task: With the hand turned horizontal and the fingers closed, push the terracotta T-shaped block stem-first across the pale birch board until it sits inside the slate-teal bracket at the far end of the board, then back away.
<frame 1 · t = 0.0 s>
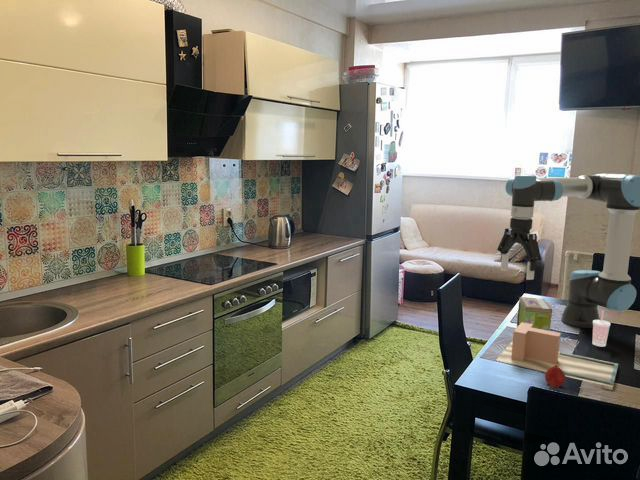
hand: (516, 275, 196), 28 cm above the table, tool pointing down, fingers open, 13 cm apart
red pomegranate: (553, 388, 167), on the table
tee: (521, 354, 191), point 1 cm above the table, touching board
board: (556, 364, 185), on the table
tea box: (531, 338, 211), on the table
beverage cup: (598, 344, 206), on the table
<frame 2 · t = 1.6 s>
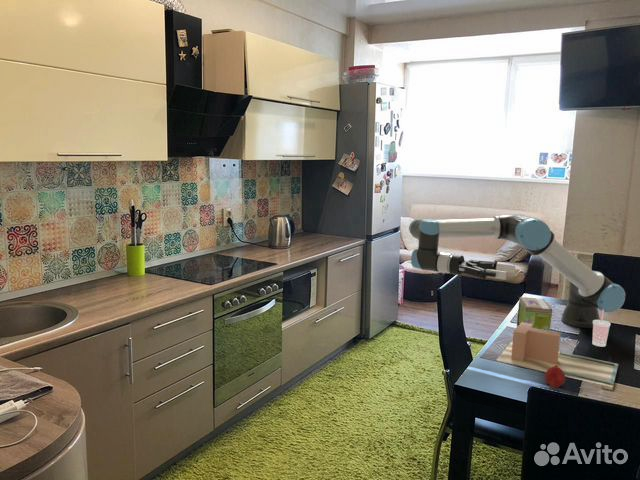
hand: (510, 272, 190), 30 cm above the table, tool horizontal, fingers open, 12 cm apart
nothing on the table moved.
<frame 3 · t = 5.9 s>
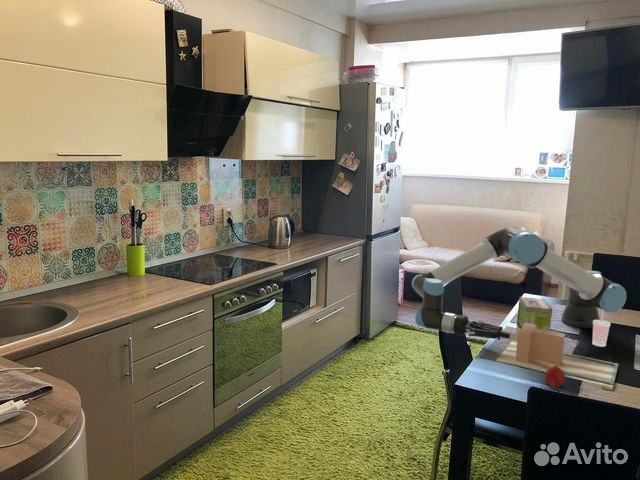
hand: (519, 337, 190), 7 cm above the table, tool horizontal, fingers closed
tee: (525, 355, 191), point 1 cm above the table, touching board
everything else where it was.
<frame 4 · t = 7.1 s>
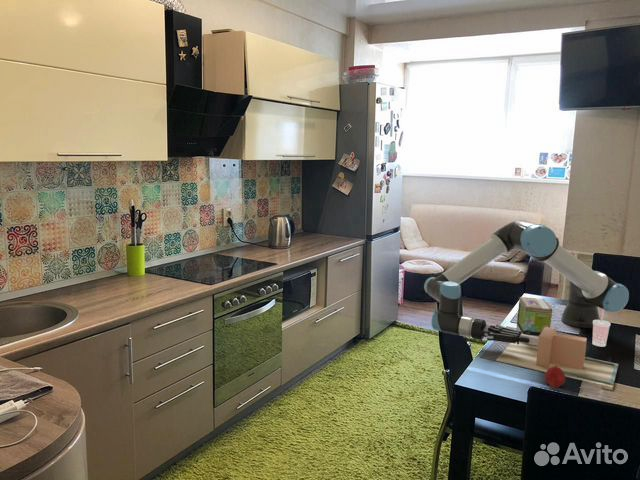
hand: (539, 341, 186), 7 cm above the table, tool horizontal, fingers closed
tee: (545, 359, 187), point 1 cm above the table, touching board, gripper
everything else where it was.
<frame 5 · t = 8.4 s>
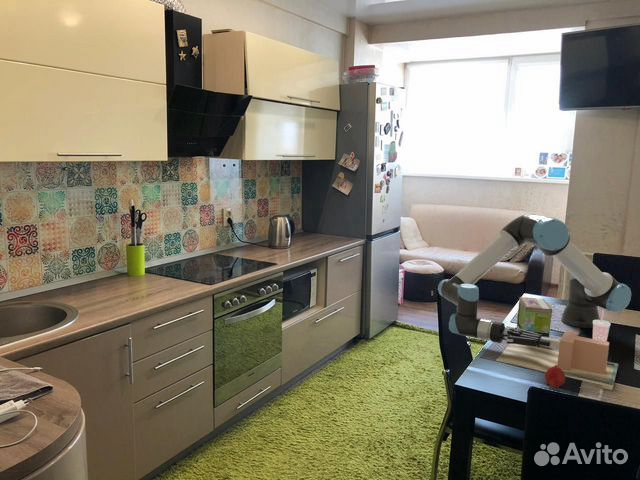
hand: (560, 345, 183), 8 cm above the table, tool horizontal, fingers closed
tee: (566, 363, 184), point 1 cm above the table, touching board, gripper
everything else where it was.
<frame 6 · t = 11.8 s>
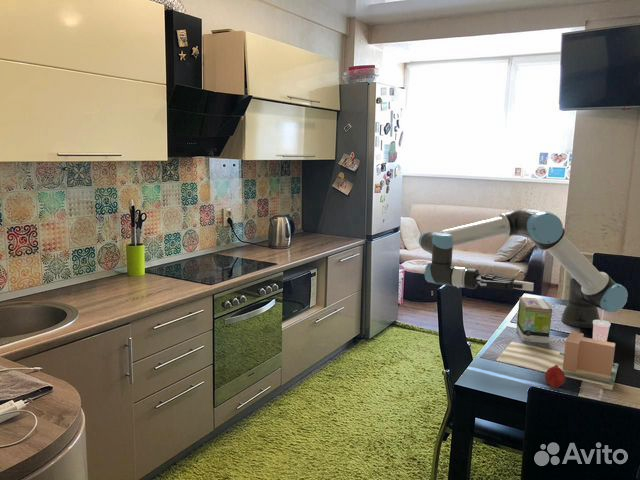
hand: (532, 287, 185), 26 cm above the table, tool horizontal, fingers closed
tee: (571, 365, 183), point 1 cm above the table, touching board
everything else where it was.
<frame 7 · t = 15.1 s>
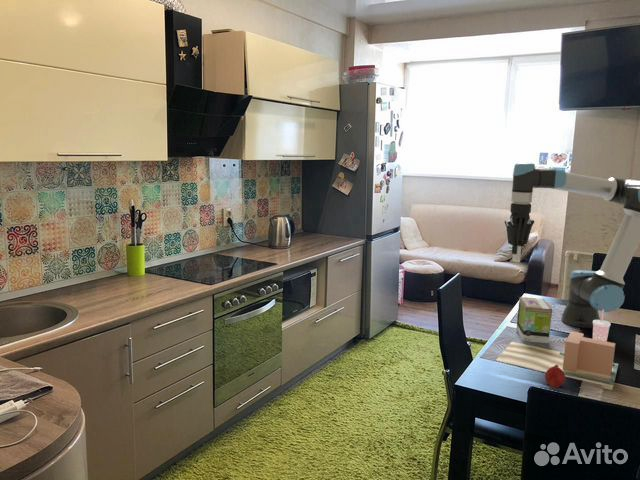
hand: (516, 261, 212), 29 cm above the table, tool pointing down, fingers closed
nothing on the table moved.
at the end: tee inside the target area (2.2 cm from its centre), point 1.0 cm above the table; tee tilted 0°; tee moved 16.7 cm from its start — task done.
